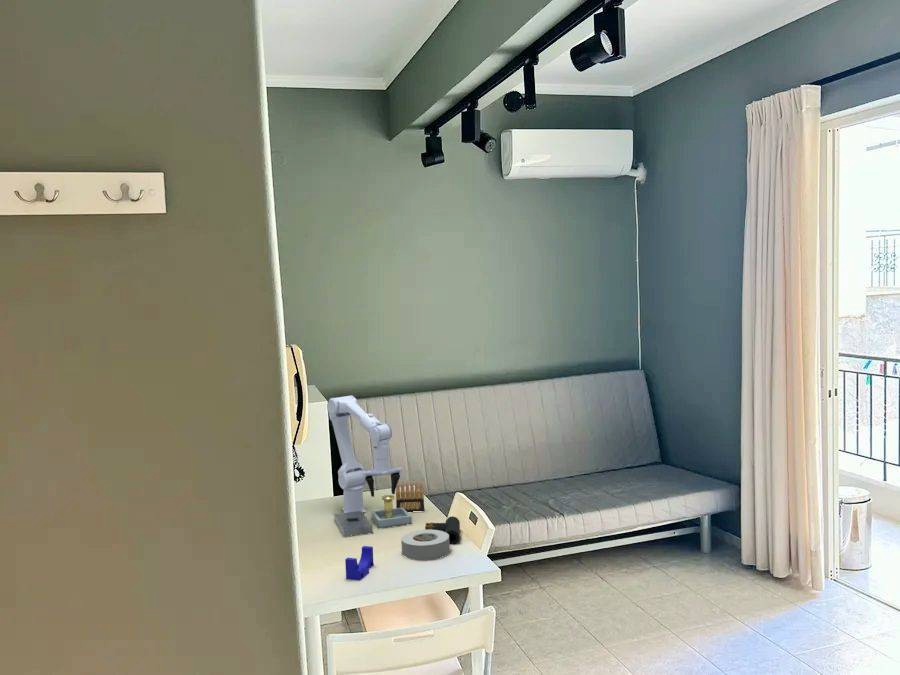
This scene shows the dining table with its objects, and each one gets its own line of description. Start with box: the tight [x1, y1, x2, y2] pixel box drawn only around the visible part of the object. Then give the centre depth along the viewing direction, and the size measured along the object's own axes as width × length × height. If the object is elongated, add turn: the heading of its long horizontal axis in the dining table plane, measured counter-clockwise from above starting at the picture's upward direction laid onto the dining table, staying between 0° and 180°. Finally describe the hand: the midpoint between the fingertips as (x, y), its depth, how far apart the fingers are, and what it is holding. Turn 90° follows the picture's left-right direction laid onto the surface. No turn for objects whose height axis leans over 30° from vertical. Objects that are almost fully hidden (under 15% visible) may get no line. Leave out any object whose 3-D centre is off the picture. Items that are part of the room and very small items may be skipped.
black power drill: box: [424, 516, 461, 545], centre depth 257 cm, size 12×5×15 cm
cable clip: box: [344, 545, 375, 581], centre depth 227 cm, size 12×4×6 cm, turn 159°
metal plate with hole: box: [333, 511, 374, 537], centre depth 271 cm, size 20×10×2 cm, turn 18°
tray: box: [370, 508, 412, 529], centre depth 276 cm, size 12×12×3 cm
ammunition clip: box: [395, 480, 426, 513], centre depth 287 cm, size 11×2×12 cm, turn 92°
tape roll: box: [400, 529, 451, 561], centre depth 243 cm, size 15×15×5 cm
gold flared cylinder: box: [381, 494, 395, 519], centre depth 275 cm, size 4×4×9 cm
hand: (382, 494), depth 276 cm, fingers open, 7 cm apart
